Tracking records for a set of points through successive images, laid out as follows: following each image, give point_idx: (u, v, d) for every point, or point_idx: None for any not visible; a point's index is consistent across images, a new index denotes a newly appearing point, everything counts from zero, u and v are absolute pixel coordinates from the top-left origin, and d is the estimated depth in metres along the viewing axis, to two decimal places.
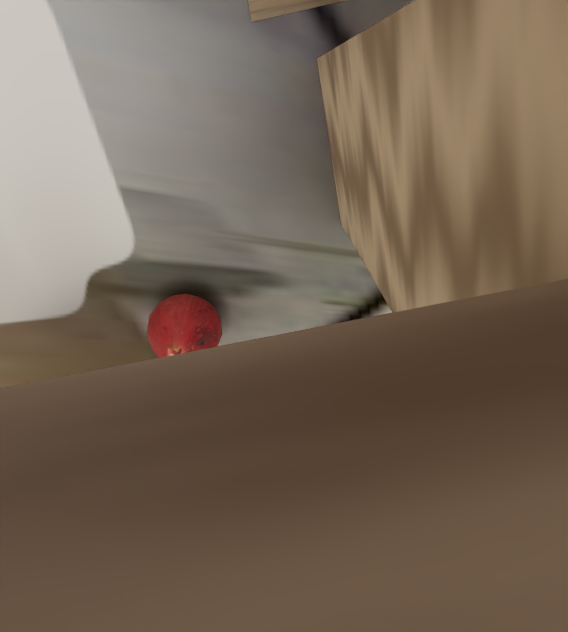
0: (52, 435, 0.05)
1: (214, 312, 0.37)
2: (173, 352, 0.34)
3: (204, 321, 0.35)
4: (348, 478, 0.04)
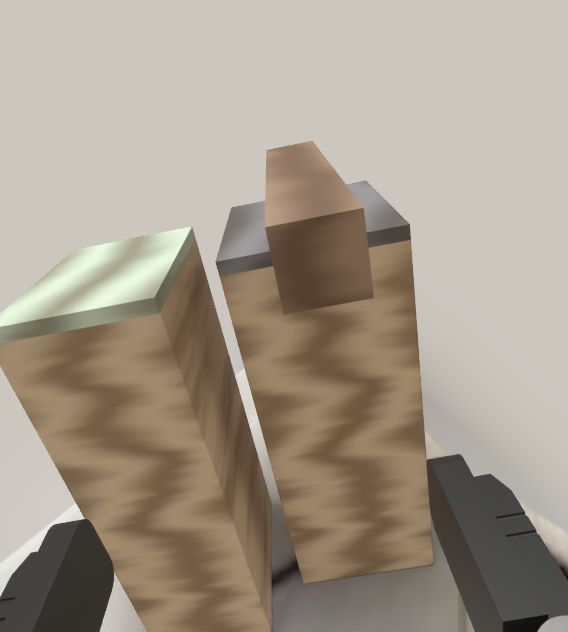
0: None
1: None
2: None
3: None
4: None
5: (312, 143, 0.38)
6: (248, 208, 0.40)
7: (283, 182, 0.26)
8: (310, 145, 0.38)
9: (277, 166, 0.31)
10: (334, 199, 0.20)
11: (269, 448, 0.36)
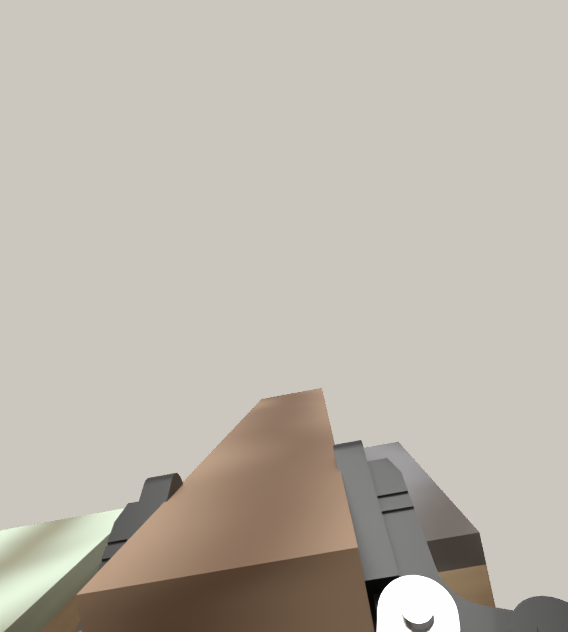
0: None
1: None
2: None
3: None
4: None
5: (320, 391, 0.28)
6: None
7: (239, 449, 0.15)
8: (316, 393, 0.28)
9: (255, 421, 0.21)
10: (298, 502, 0.09)
11: None
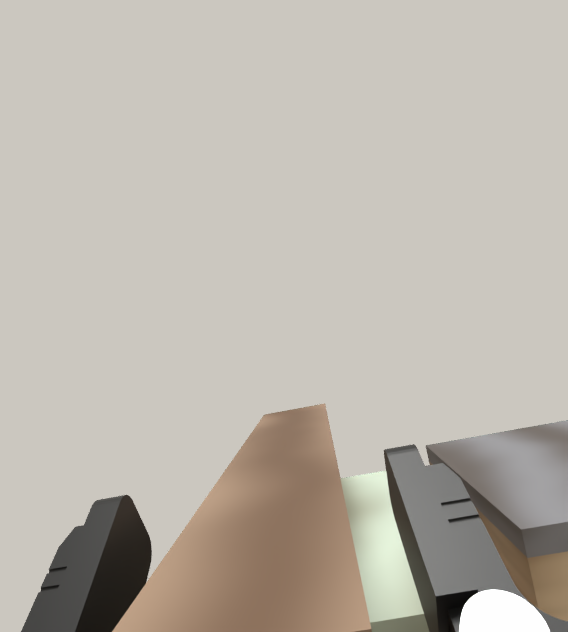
0: None
1: None
2: None
3: None
4: None
5: (323, 407, 0.28)
6: (457, 446, 0.29)
7: (244, 482, 0.15)
8: (319, 410, 0.27)
9: (258, 444, 0.21)
10: (307, 561, 0.08)
11: None
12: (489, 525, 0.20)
